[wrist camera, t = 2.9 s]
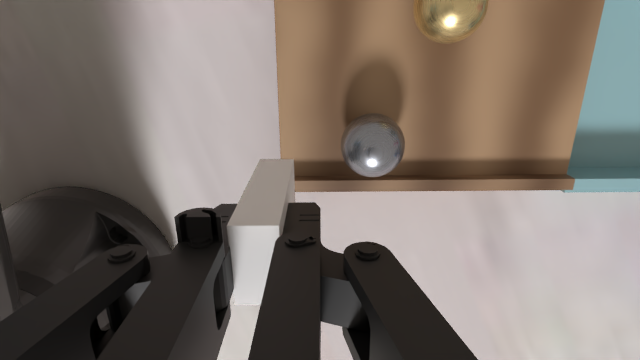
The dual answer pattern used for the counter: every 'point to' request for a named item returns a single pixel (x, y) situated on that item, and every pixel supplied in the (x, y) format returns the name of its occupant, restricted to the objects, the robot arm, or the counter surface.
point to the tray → (611, 107)
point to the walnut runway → (435, 92)
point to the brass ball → (449, 18)
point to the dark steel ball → (372, 145)
